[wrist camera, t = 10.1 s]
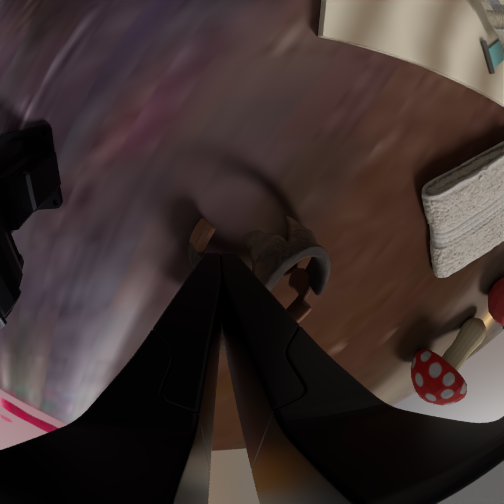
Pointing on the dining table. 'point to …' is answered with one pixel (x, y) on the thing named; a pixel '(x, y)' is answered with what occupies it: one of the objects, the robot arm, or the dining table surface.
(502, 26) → the crank handle
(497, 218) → the washcloth
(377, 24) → the napkin
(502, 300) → the tomato
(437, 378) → the decorative mushroom
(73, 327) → the dining table surface
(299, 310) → the pottery mug
